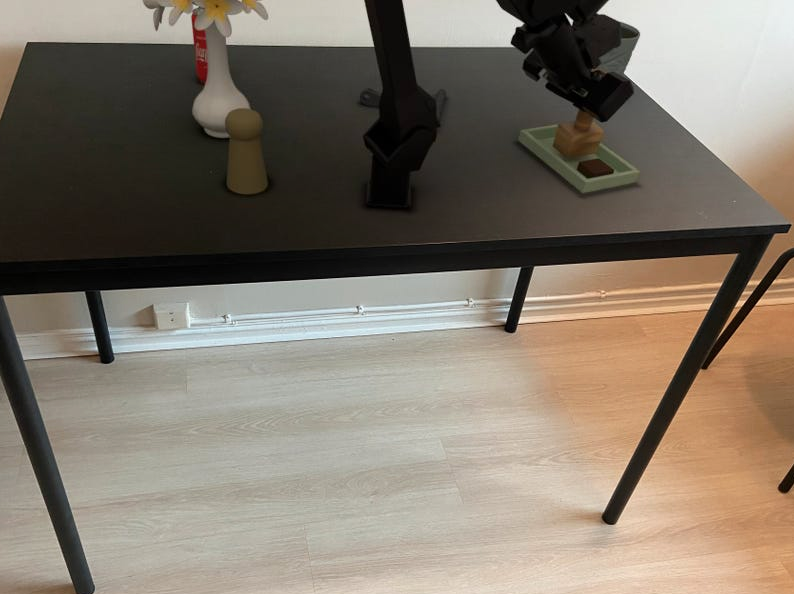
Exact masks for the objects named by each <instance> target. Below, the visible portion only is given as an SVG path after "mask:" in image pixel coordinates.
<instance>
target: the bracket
mask: <svg viewBox="0 0 794 594" xmlns="http://www.w3.org/2000/svg"><path fill="white" fill-rule="evenodd" d="M381 94H382V92H379V91H377V90H374V89H373V88H370V87H365V88H364V89H362V91H361V93H360V95H359V100H360V102H361V104H363V105H366V106H370V107H376V108H377V107H378V108H379V101H380V98H381ZM366 96H367V97H368V98H367V97H366ZM431 96H432V97H433V98H434V99H435V100H436V105H437V112H436V114H437V119H438V122H439V123H440V119H441V116H442V112H443V108H444V104H445V100H446V97H447V90H445V89H443V88H440V89H439V90H438V91H437V93H434V94H432V95H431ZM436 129H438V127H436Z"/></svg>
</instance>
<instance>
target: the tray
mask: <svg viewBox="0 0 794 594" xmlns="http://www.w3.org/2000/svg"><path fill="white" fill-rule="evenodd" d="M558 124H559V123H557V124H551V125H546V126H545V125H543V126H538V127H532V128H526V129H521V130H520V131H519V136H518V142H520V144H522V145H523V146H524V147H526V148H527V149H528V150H529V151H530V152H532V153H533V154H534V155H535V156H537V157H538V158H539V159H541V160H542V162H543V163H545V164H546V165H548V166H549V167H550V168H551V169H553V170H554V171H556V173H558V174H559V175H560V176H561V177H562V178H563V179H565V180H566V181H567V182H568V183H570V184H571V185H572V186H574V187H575V188H576V189H577V190H578V191H579V192H580V193H582V194H585V193H590V192H594V191H599V190H604V189H605V190H606V189H608V188H609V189H610V188H614V187H619V186H620V187H621V186H624V185H630V184H635V183H637V182H638V179H639V176H640V173H641V170H639V169H637V167H635V166H633V164H631V163H629V162H628V161H626V160H625V159H623V158H622V157H621V156H620V155H618V154H616V152H614V151H613V150H611V149H610V148H608V147H607V146H606V145H604V144H603V143H602V142H600V144H599V147H598V150H597V152H596V154H591V155H585V156H579V157H572V158H565V157H564V156H563V155H562V154H561V153H559V152H558V151H557V150H556V149H555V148H554V147H553V146H552V145H553V142H554V139H555V136H556V130H557V127H558ZM597 158H599V159H601V160H602V161H603V162H605V163H606V164H607V165H609V166H610V167H611V168H613V169H614V173H613V174H611V175H605V176H600V177H595V178H590V179H587V178H586V177H585V176H584V175H582V174H581V173H580V172H578V171H577V167H578V164H579V162H581V161H586V160H592V159H597Z"/></svg>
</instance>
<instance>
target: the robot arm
mask: <svg viewBox="0 0 794 594" xmlns="http://www.w3.org/2000/svg"><path fill="white" fill-rule="evenodd" d="M363 1H364V7H365V11H366V16H367V21H368V25H369V30H370V34H371V40H372V44H373V49H374V53H375V59H376V63H377V68H378V73H379V76H380V80H381V86H382V91H381V93H382V94H381V98H380V101H379V107H378V115H379V116H378V118H377V120H375V121H374V123H372V125H371V126H370V127H369V128H368V129H367V130H366V131H365V132H364V133H363V134H362V140H363V143H364V147H365V148H366V149H367V150H369V152H370V153H371V154H372V157H371V166H370V168H371V169H370V181H367V184H366V197H365V199H366V201H365V206H366V207H369V208H383V209H397V210H410V209H411V208H412V189H411V186H412V185H410V184H411V183H410V182H411V176H412V175H411V173H413V172H417V171H418V172H419V171H420V170H421V168H422V166H423V164H424V162H425V159H426V157H427V155H428V153H429V151H430V148H432V146H433V144H434V143H436V141H437V137H438V130H437V129H438V128H441V126H442V125H441V123H440V121H439V122H438V119H437V114H436V112H437V105H436V100H435V99H434V98H433V97H432V95H431V94H430V93H429V92H428V91H427V90H426V89H424V88H423V87H422V86H421V85H420V84H419V83H418V82H417V77H416V76H417V75H416V69H415V65H414V59H413V54H412V53H413V52H412V48H411V41H410V36H409V30H408V25H407V24H408V23H407V18H406V13H405V7H404V1H403V0H363ZM609 1H610V0H495V2H496V3H497V4H498V6H499V7H500V9H501V10H502V11H504V12H506V13H507V14H509V15H511V16H512V17H514V18H515V19H517V20H518V21H520V22H521V23H523V24H522V25H521V26H516V27H515V31H514V34H512V37H511V40H510V45H511V46H513V47H514V48H515V49H516V50H518V51H520V53H522V54H524V55H527V54H528V53H529V54H528V55H527V56H526V57H525V58H524V59H523V64H522V67H521V69H522V70H523V72H524V74H525V75H526V77H528V78H530V79H531V80H533V81H534V82H536V83H537V82H538V81H539V80H540V79H541V76H540V73H541V72H542V71H543V70H545V72H544V73H543V74H542V78H543V79H544V80H546V81H547V82H546V83H545V86H544V88H545V89H546V90H548V91H549V92H550V93H552V94H554V95H556V96H558V97H560V98H562V99H564V100H566V101H568V102H570V103H572V106H574V107H575V108H576V109H578V110H579V109H580V110H581V111H583V112H585V113H588V114H589V115H590V116H592V117H593V118H594V120H596V121H598V122H600V123H607V122H608V121H609V120H611V118H612V117H613V116H614V115H615V114H616V113H617V112H618V111H619V110H620V109H621V108H622V107H623V106H624V105H625V103H626V102H627V101H629V99H630V98H631V97H632V96H633V95H634V94H635V88H634V85H633V83H632V81H631V80H630V79H628V78H626V77H625V76H624V75H623V76H621V75H619V74H617V73H616V72H608V73H606V74H605V73H604V72H602V71H600V70H595V71H593V72H592V71H591V70H592V69H596V68H597V67H598V66H599V65H600V64H601V61H600V59H599V57H602V56H603V55H605V54H606V53H608V52H609V51H611V50H612V49H614V48H617V47H619V46H620V45H621V23H620V22H621V21H619V20H617V19H615V18H613V17H611V16H608V15H607V14H604V13H598V12H599V11H600V10H601V9H602V8H603V7H604V6H605V5H606V4H607V3H608V2H609ZM569 19H571V21H572V23H571V22H570V20H569ZM589 78H591V79H592V80H591V79H589ZM436 127H437V129H436Z"/></svg>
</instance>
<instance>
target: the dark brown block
mask: <svg viewBox="0 0 794 594" xmlns="http://www.w3.org/2000/svg"><path fill="white" fill-rule="evenodd" d="M577 171H578V172H580V173H581V174H582V175H584V176H585V177H586V178H587V179H590V178H595V177H600V176H605V175H611V174H613V173H614V169H613V168H611V167H610V166H609V165H607V164H606V163H605V162H603V161H602V160H601V159H599V158H597V159H592V160H586V161H581V162H579V164H578V167H577Z"/></svg>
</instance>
